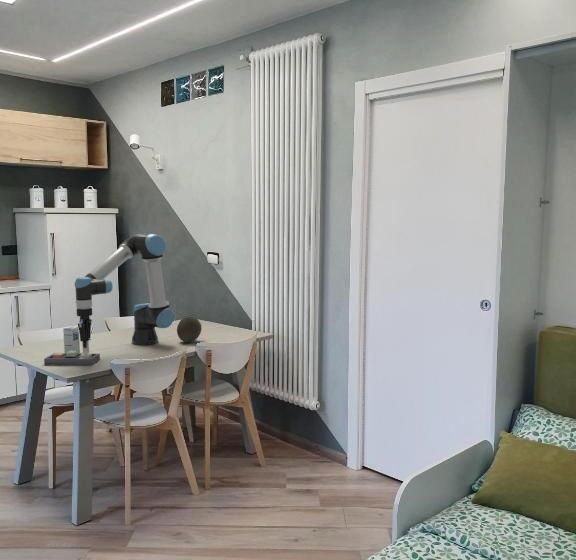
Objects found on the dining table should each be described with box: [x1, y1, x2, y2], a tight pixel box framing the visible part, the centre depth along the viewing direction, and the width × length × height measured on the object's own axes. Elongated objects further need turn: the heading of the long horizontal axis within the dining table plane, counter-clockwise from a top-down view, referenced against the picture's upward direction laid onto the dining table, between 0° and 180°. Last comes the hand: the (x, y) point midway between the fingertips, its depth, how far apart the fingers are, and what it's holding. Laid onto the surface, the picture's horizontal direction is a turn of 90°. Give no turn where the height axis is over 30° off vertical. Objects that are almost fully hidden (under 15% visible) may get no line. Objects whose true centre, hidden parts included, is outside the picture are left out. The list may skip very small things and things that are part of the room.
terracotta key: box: [53, 352, 65, 358], centre depth 302 cm, size 4×4×2 cm
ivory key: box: [80, 352, 92, 359], centre depth 301 cm, size 4×4×2 cm
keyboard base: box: [43, 352, 101, 366], centre depth 302 cm, size 24×12×4 cm, turn 88°
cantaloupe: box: [176, 316, 202, 344], centre depth 349 cm, size 14×14×15 cm
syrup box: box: [62, 325, 81, 353], centre depth 320 cm, size 6×6×14 cm
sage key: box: [66, 351, 78, 357], centre depth 302 cm, size 4×4×2 cm
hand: (86, 353), depth 301 cm, fingers closed
